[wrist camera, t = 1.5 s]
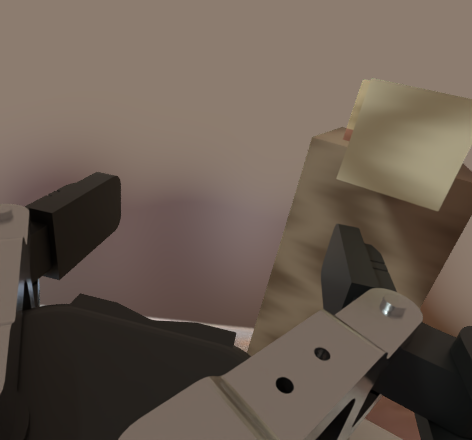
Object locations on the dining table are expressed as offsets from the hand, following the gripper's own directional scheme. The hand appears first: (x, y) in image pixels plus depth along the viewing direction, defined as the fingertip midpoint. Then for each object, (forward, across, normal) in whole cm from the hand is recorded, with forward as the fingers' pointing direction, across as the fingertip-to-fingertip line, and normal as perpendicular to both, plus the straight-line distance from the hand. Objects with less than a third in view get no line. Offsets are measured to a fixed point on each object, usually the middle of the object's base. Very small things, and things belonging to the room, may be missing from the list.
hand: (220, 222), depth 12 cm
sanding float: (+11, -9, -1) cm, 14 cm away
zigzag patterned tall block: (+14, -8, +31) cm, 35 cm away
